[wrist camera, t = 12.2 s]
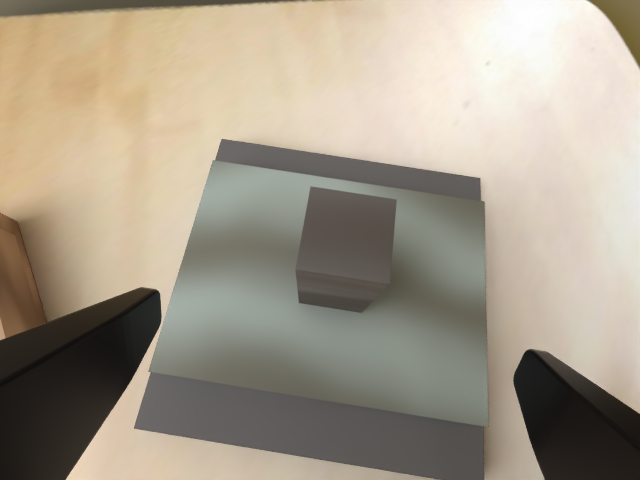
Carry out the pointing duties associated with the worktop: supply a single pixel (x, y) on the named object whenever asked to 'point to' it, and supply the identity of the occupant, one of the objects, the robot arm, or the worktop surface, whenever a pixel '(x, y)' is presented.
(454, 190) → the rubber mat
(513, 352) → the worktop surface
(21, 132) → the worktop surface
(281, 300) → the lid
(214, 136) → the worktop surface
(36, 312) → the brown wooden flat frame
